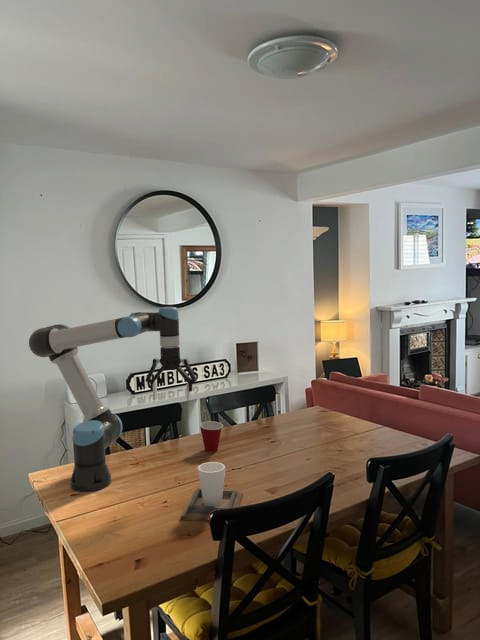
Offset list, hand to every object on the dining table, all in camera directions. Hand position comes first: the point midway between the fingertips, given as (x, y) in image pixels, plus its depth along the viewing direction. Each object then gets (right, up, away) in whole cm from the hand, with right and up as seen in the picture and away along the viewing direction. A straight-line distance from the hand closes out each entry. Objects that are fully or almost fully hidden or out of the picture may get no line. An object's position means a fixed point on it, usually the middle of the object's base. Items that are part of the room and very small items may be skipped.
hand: (171, 399), depth 209 cm
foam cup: (+18, -32, -26) cm, 45 cm away
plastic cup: (+14, -28, +30) cm, 43 cm away
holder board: (+18, -33, -26) cm, 46 cm away
